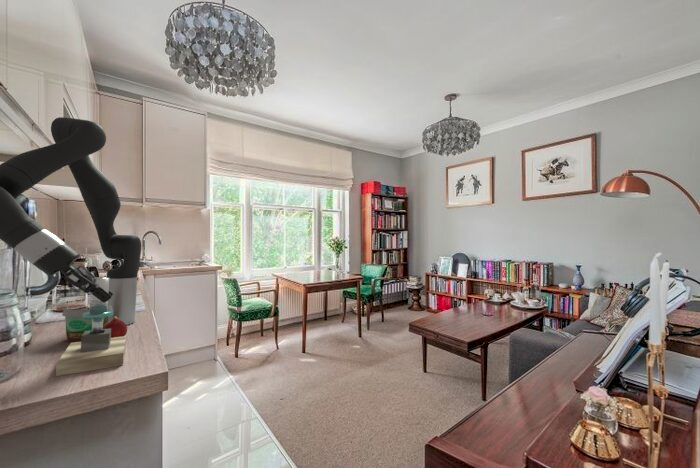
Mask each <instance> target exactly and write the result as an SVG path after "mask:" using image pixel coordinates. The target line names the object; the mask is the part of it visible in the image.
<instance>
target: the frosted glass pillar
mask: <svg viewBox="0 0 700 468" xmlns="http://www.w3.org/2000/svg"><path fill="white" fill-rule="evenodd" d="M94 282H95V283H96V284H98V285H99V286H100V287H101V288H102V289H104V290H105V291H106V292H107V293H109V277H107V276H105V277H103V276H101V277H100V276H99V277H96V278H94ZM100 287H99V288H100ZM89 296H90V298H89V308H90V310H89V312H86V313H83V319H92V334H98V333H103V318H106V317H110V316H112V315H113V311H112V310H107V308H108V301H107V302H105V303H104V302H102V301H100V300H99V299H98V298H96V297H95V296H94V295H92V294H89Z"/></svg>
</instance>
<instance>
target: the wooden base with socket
mask: <svg viewBox="0 0 700 468" xmlns="http://www.w3.org/2000/svg"><path fill="white" fill-rule="evenodd" d="M126 345H127V336H126V335H125V336H123V337H115V338H111V328H109V329H103V333H98V334H92V330H91V331H85V332H84V333H83V335H82V337H81V342H74V343H73V342H69V345H68V347H67V348H66V349H65V351H64V352H63V353H62V354H61V357H60V358H59V359H58V361H57V362H56V368H55V369H56V371H55V377H58V376H59V377H60V376H66V375H71V374H73V375H74V374H78V373H84V372H85V373H86V372H89V371H90V372H91V371H96V370H101V369H108V368H114V367H118V366H121V367H122V366H124V360H125V359H124V358H125V353H126Z"/></svg>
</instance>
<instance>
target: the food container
mask: <svg viewBox="0 0 700 468" xmlns="http://www.w3.org/2000/svg"><path fill="white" fill-rule="evenodd" d="M89 310H90V307H85V308H84V307H83V308H77V309H75V308H74V309H69V308H67V306H66V307H64V309H63V311H62V314H61V315H62V317H64V320H65V334H66V335H65V336H66V342H67V343H74V342H81V337H82V335H83V333H84V332H85V331H91V330H92V319H83V313H86V312H89ZM107 310H112V307H111V305H110V306H108V308H107ZM112 311H113V310H112ZM108 320H109V317H106V318H103V329H104V327H105V326H106V325H107V324H108Z"/></svg>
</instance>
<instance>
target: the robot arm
mask: <svg viewBox="0 0 700 468" xmlns="http://www.w3.org/2000/svg"><path fill="white" fill-rule="evenodd" d="M50 132H51V137H52V139H53V141H54V143H52V144H49V145H47V146H42V147H38V148H34V149H31V150H29V151H24V152H22V153H19V154H16V155H15V156H13V157H12V158H10V159H8V160H6V161H4V162H3V163H0V240H1V241H2V242H3V243H5V244H6V245H8V246H9V247H11V248H12V249H13V250H14V251H15V252H17V254H19V256H21V257H22V258H23V259H25V260H26V261H27V262H29V263H30V264H32V265H33V266H34V267H36V268H37V269H38V270H40V271H41V272H42V273H44V274H46V275H47V276H49V277H52V276H54V275H56V274H57V273H62V274H63V275H64V279H65V281H66V282H68V283H70V284H71V285H73V286H75V287H77V288H78V289H79V290H81V291H82V292H83V293H85V294H89V295H91V294H92V295H94V296H95V297H96V298H98V299H99V300H100V301H102V302H104V303H105V302H107V301H108V306H110V305H111V307H112V310H113V315H112V316H110V317H109V320H108V323H109V322H111V321H112V320H113V319H114V317H115V316H116V317H117V318H118V319H119V320H122V321H123V322H124V323H125V324H126V326H127V325H131V324H134V323H135V321H136V320H135V319H136V309H137V308H136V306H137V292H138V289H137V288H138V273H139V270H140V264H141V255H142V241H141V239H140V237H139V236H137V235H133V234H132V235H131V234H129V235H128V234H127V235H126V234H117V232H116V231H115V226H114V222H115V220H116V218H117V216H118V214H119V212H120V209H121V206H122V204H121V200H120V197H119V194H118V191H117V188H116V187H115V185H114V183H113V182H112V181H111V180H110V179H109V178H108V176H107V175H105V173H103V172H102V171H101V170H100V169H99V168H98V167H97V165H95V164H94V162H93V161H92V159H91V157H90V155H92V154H94V153H97V152H99V151H101V150H102V149H103V148H104V146H105V145H106V142H107V135H106V132H105V130H104V128H103V127H102V126H101V125H100V124H98V123H97V122H94V121H91V120H87V119H80V118H73V117H65V116H62V117H56V118H55V119H53V121H52V122H51V125H50ZM66 166H68V168H69V170H70V172H71V173H72V176H73V178H74V180H75V182H76V185H77V187H78V189H79V192H80V194H81V197H82V199H83V201H84V204H85V207H86V208H87V211H88V212H89V215H90V217H91V220H92V222H93V224H94V227H95V230H96V233H97V236H98V240H99V241H98V242H99V243H100V247H101V250H102V253H103V255H104V256H105V257H106V258H108V259H109V260H110V259H111V260H123V262H122V264H121V265H119V266H116V267H114V268H110V269H108V270H107V271H106V277H109V293H107V292H106V291H105V290H104V289H102V288H101V287H100V286H99V285H98V284H96V283H95V282H94V278H97V277H96V276H95V274H93V273H92V272H90V271H89V270H88V269H87V268H86V267H85V266H84V265H80V266H79V265H77V263H75V261H76V260H77V259H79V258H80V257H81V253H79V252H78V251H76V250H75V249H74V248H72V247H71V246H70V245H69V244H68V243H67V242H65V241H64V240H63V239H62V238H60V237H58V235H56V234H54V233H53V232H51V231H49V230H48V229H46V228H45V227H44V226H42V224H41V223H39V222H38V221H36V220H35V219H33V218H32V217H31V216H30V215H28V213H27V212H26V211H25V209H24V208H23V207H22V206H21V205H20V204H19V202H18V201H17V200H16V199H17V198H18V197H19V196H20V195H21V194H23V193H25V192H26V191H28V190H30V189H31V188H33V187H35V185H37V184H38V183H40V182H41V181H44V180H45V179H46V178H47V177H49V176H50V175H52V174H53V173H56V172H57V171H59V170H60V169H62V168H65V167H66ZM99 287H100V288H99Z"/></svg>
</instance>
